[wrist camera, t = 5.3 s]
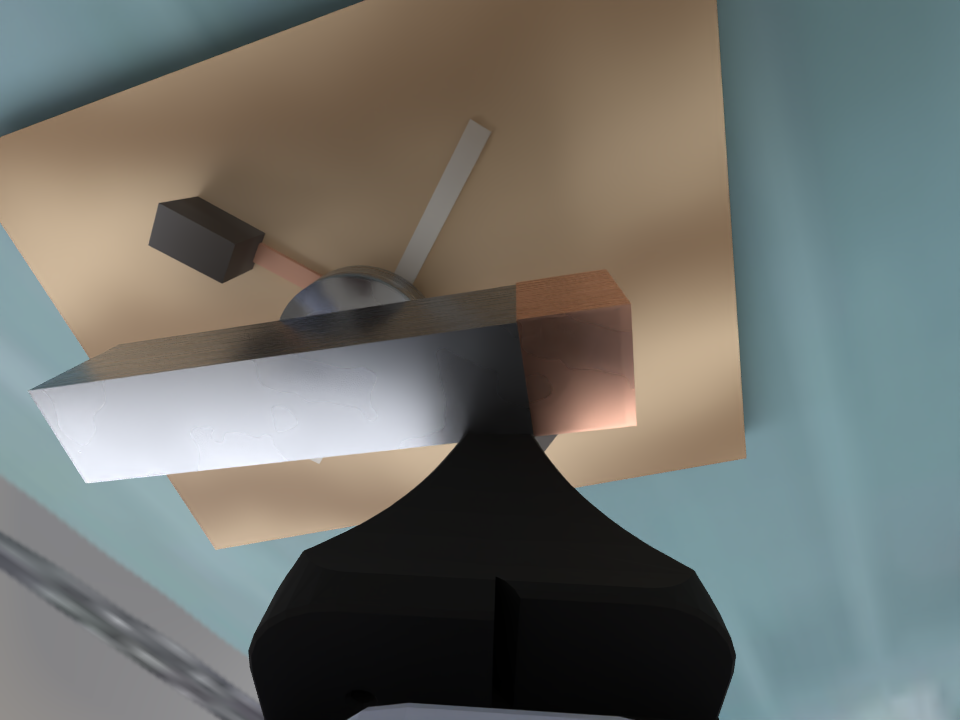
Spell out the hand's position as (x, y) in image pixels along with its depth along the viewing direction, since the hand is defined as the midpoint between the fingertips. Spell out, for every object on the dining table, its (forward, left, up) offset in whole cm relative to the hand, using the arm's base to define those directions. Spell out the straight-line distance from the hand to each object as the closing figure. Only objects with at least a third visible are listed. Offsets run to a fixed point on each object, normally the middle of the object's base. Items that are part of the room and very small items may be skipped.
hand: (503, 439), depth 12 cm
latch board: (-3, -3, -4) cm, 6 cm away
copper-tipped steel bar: (-3, -3, -2) cm, 5 cm away
